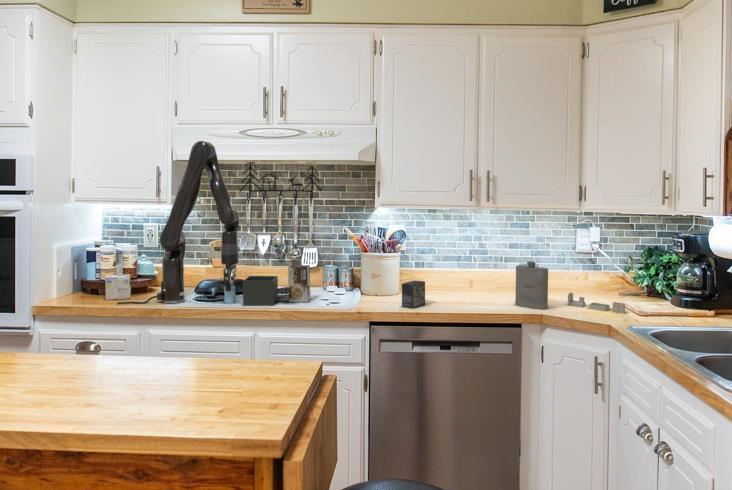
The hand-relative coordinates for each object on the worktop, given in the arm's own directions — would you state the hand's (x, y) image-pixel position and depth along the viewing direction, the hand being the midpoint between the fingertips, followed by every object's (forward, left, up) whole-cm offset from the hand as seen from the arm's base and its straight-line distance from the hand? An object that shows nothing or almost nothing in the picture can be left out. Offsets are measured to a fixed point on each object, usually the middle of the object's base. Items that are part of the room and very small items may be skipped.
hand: (230, 289), depth 278 cm
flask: (+135, -6, -6) cm, 135 cm away
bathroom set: (+163, -9, -6) cm, 163 cm away
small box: (+83, -5, -6) cm, 83 cm away
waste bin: (+14, 0, -6) cm, 15 cm away
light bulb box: (-54, +8, -6) cm, 55 cm away
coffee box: (+31, +4, -6) cm, 32 cm away
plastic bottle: (0, 0, -6) cm, 6 cm away
